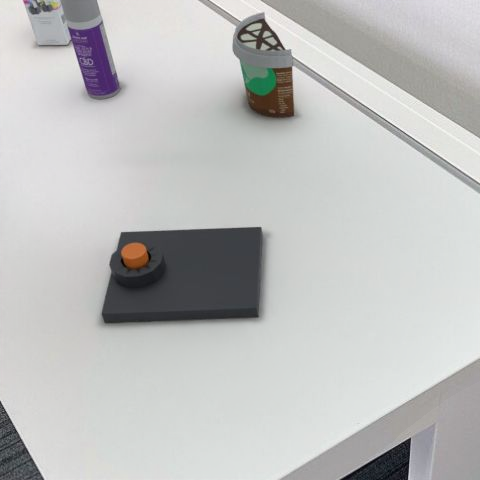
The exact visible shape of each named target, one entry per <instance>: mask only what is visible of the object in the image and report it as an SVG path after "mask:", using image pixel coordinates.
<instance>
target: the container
mask: <svg viewBox="0 0 480 480" xmlns="http://www.w3.org/2000/svg"><path fill="white" fill-rule="evenodd" d="M60 1H61V5H62V8H63V12H64V16H65V19H66V23H67V27H68V30H69V33H70V37H71V40H70V41H71V43H72V47H73V51H74V53H75V56H76V60H77V62H78V66H79V70H80V73H81V76H82V79H83V83H84V87H85V90H86V93H87V96H89V97H90V98H92V99H95V100H105V99H109V98H112V97H114V96H117V95H118V94H119V93H120V91H121V85H120V82H119V77H118V73H117V69H116V66H115V62H114V58H113V54H112V50H111V47H110V43H109V39H108V35H107V31H106V28H105V24H104V23H105V22H104V20H103V16H102V13H101V10H100V6H99V3H98V0H60Z"/></svg>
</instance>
